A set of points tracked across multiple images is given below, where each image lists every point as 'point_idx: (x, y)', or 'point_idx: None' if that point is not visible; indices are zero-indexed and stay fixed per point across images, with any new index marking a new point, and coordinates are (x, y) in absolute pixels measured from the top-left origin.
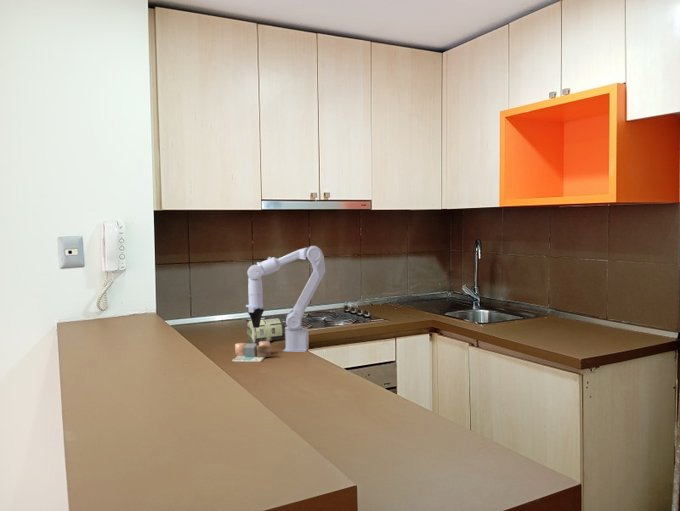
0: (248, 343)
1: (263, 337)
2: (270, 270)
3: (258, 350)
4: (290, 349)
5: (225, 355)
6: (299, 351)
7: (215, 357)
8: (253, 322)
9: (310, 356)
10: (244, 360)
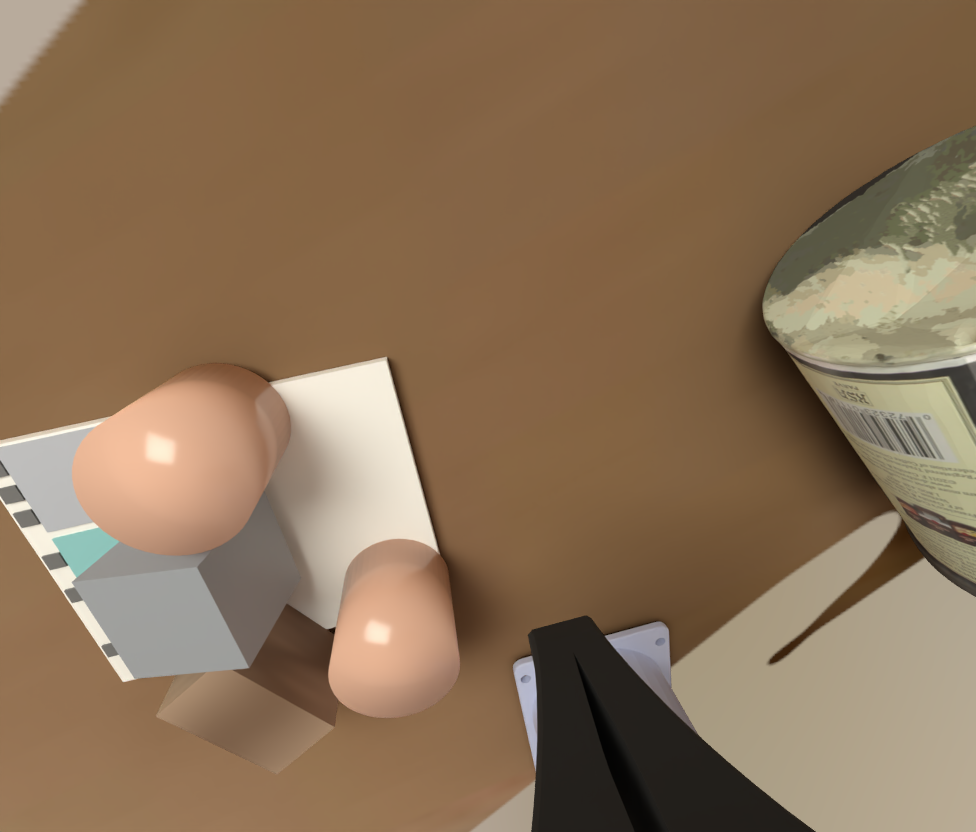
0: (205, 588)
1: (829, 411)
2: None
3: (174, 686)
4: (534, 715)
5: (200, 205)
6: (532, 753)
7: (32, 118)
8: (548, 737)
9: None
10: (46, 564)
